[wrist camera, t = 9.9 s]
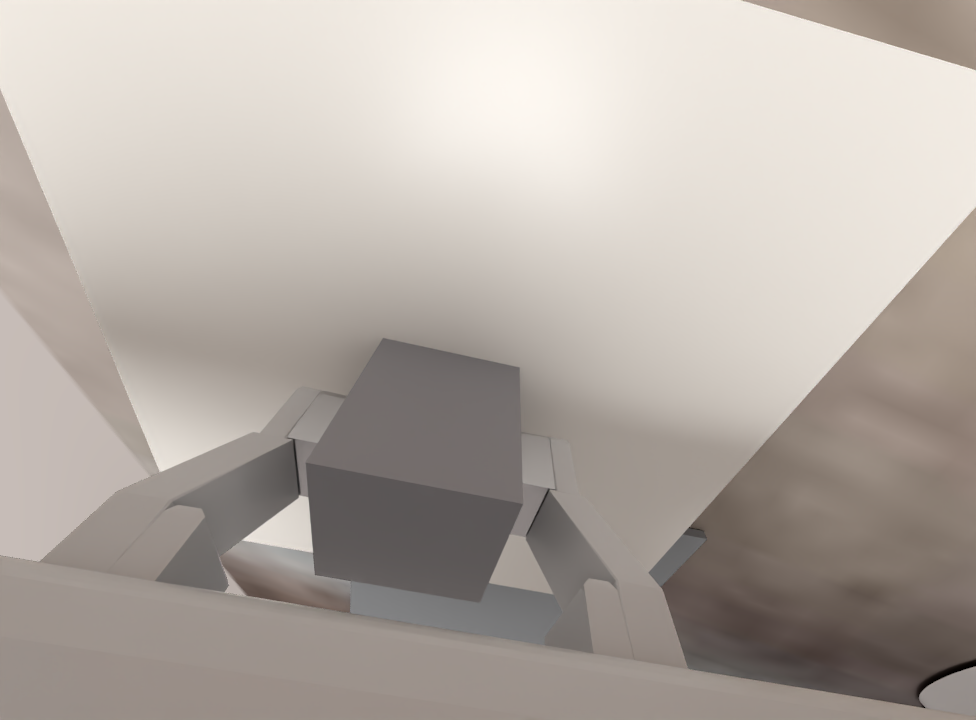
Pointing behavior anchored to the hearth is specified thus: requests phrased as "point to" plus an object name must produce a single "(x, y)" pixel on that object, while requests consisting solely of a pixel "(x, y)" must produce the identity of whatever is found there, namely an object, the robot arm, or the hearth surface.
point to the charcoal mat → (495, 602)
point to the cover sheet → (482, 241)
